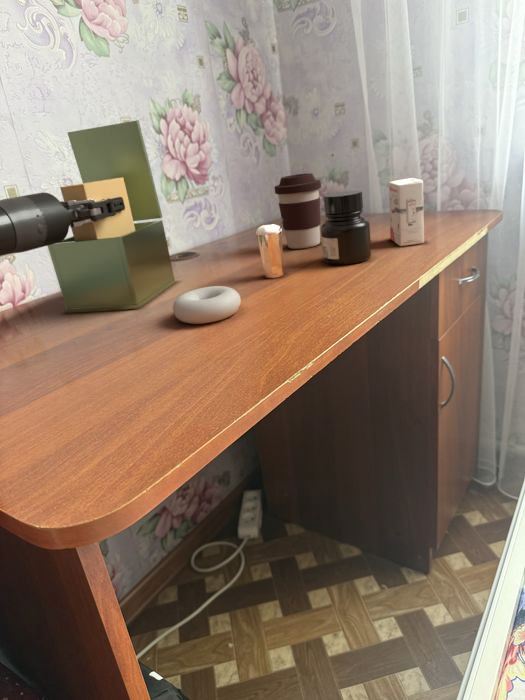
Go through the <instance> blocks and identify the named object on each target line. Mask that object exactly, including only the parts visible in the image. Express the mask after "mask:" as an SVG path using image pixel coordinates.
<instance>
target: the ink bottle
mask: <svg viewBox="0 0 525 700" xmlns="http://www.w3.org/2000/svg"><path fill="white" fill-rule="evenodd" d="M363 201H364V200H363V191H362V190H346V191H338V192H332V193H327V194H324V195H323V205H324V213H325V215H324V216H325V217H326V218H327V219H326V220H325V221H324V223H323V224H322V225H321V227H320V238H321V246H322V247H321V248H322V258H323V261H324V263H326V264H328V265H335V266H336V265H337V266H339V265H351V264H357V263H362V262H365V261H367V260H369V259H370V258H371V257H372V246H371V245H372V243H371V242H372V241H371V224H370V222H369V220H368V219H367V218H365V217H364V216H363V215H362V214H363V212H364V202H363Z"/></svg>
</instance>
